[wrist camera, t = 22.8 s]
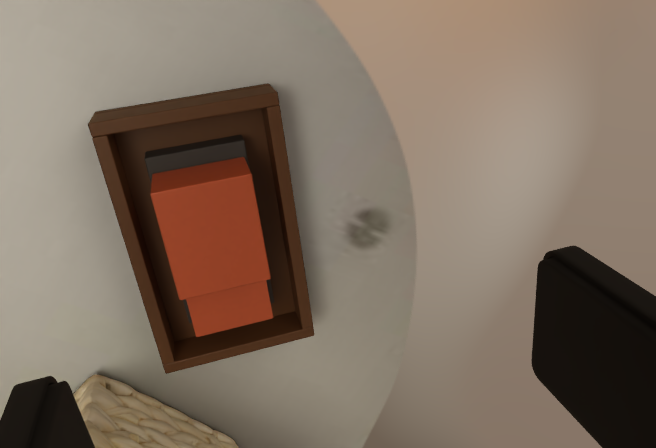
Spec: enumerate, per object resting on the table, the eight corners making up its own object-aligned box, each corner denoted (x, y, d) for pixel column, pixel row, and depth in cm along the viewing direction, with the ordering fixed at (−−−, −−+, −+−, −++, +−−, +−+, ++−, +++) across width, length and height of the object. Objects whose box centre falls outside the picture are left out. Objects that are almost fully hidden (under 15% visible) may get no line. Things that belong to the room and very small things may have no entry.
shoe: (144, 151, 33) (141, 177, 29) (241, 133, 34) (252, 156, 30) (188, 312, 38) (191, 354, 34) (271, 292, 39) (284, 331, 35)
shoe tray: (94, 111, 32) (87, 123, 29) (269, 83, 34) (277, 91, 31) (165, 347, 40) (165, 374, 37) (305, 312, 42) (314, 335, 39)
